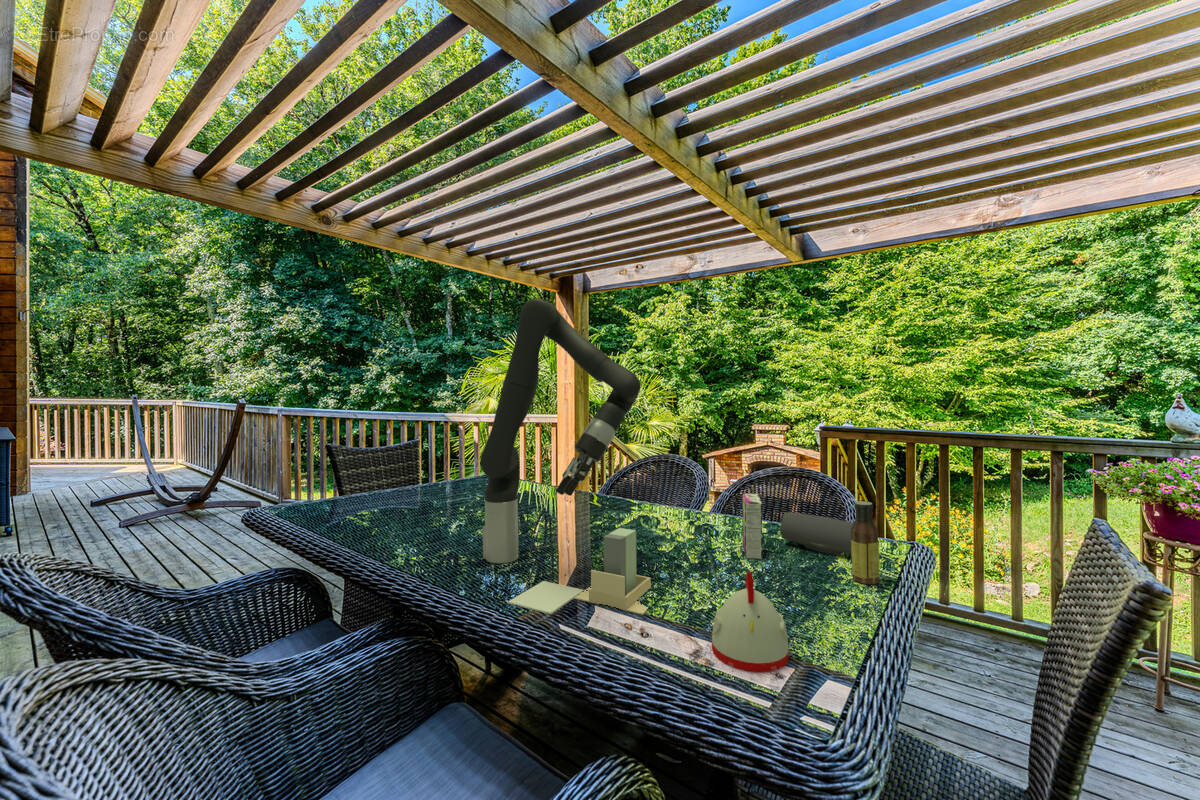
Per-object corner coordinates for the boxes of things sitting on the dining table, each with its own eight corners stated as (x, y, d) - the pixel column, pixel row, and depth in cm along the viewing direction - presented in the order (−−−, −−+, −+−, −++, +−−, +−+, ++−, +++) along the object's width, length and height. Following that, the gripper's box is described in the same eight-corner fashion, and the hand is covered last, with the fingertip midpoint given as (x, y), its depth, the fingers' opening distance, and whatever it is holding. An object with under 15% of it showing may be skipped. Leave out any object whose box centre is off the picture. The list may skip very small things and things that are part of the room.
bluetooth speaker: (869, 555, 152) (870, 520, 151) (859, 563, 145) (859, 527, 144) (792, 539, 167) (792, 507, 167) (779, 546, 160) (779, 513, 160)
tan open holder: (574, 598, 124) (573, 567, 123) (608, 574, 138) (608, 546, 138) (642, 614, 115) (642, 580, 115) (671, 587, 130) (671, 557, 129)
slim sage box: (604, 600, 123) (603, 536, 122) (620, 588, 130) (619, 527, 129) (621, 604, 121) (620, 539, 120) (636, 591, 127) (636, 530, 127)
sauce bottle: (877, 577, 134) (878, 500, 134) (881, 587, 129) (882, 506, 128) (849, 574, 137) (849, 499, 136) (852, 583, 131) (852, 504, 130)
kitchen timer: (711, 668, 94) (711, 585, 93) (711, 631, 107) (711, 558, 107) (794, 676, 91) (794, 590, 90) (783, 637, 105) (783, 563, 104)
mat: (507, 603, 122) (507, 601, 122) (543, 582, 134) (543, 580, 134) (550, 614, 116) (550, 612, 116) (583, 591, 128) (583, 589, 128)
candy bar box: (741, 546, 160) (741, 493, 160) (759, 547, 159) (759, 493, 159) (744, 559, 149) (744, 501, 149) (762, 560, 148) (762, 502, 148)
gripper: (576, 434, 143) (544, 485, 139) (591, 429, 130) (556, 485, 125) (599, 449, 145) (568, 500, 140) (616, 446, 131) (582, 502, 127)
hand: (562, 493), depth 133 cm, fingers open, 8 cm apart
